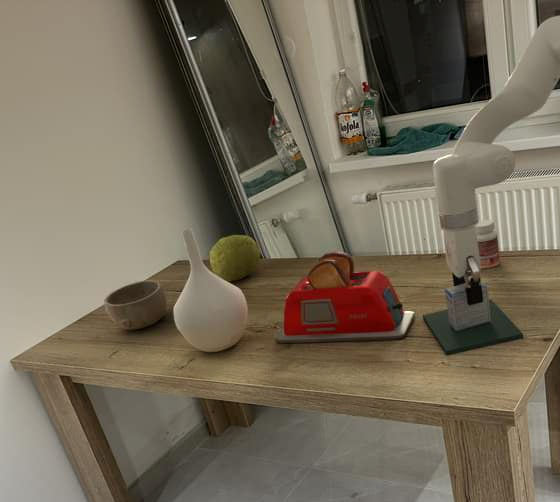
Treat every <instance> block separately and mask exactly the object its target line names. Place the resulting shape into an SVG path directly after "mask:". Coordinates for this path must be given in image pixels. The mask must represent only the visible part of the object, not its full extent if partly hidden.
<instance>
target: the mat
mask: <svg viewBox="0 0 560 502" xmlns="http://www.w3.org/2000/svg"><path fill="white" fill-rule="evenodd" d="M489 309H490V319H491V321H490V322H487V323H483V324H480V325H476V326H473V327H469V328H466V329H462V330H459V331H456V330H455V329H454V328H453V327H452V326H451V325H450V324H449V318H448V310H447V309H443V310H439V311H435V312H430V313H426V314H422V319H423V321H424V323H425V324H426V326H427V327H428V329H429V331H430V332H431V333H432V335H433V337H434V338H435V340H436V341H437V343H438V344H439V346H440V348H441V349H442V350H443V353H444V354H445V355H446V356H449V355H453V354H457V353H463V352H466V351H471V350H476V349H480V348H484V347H488V346H494V345H497V344H502V343H506V342H511V341H514V340H519V339H523V338H524V333H523V332H522V330H520V329H519V327H517V325H515V323H514V322H513V321H512V320H511V319H510V318H509V317H508V316H507V315H506V314H505V313H504V312H503V310H502V309H500V307H499V306H498V305H497V304H496V303H495V302H494V300H492V299H489Z"/></svg>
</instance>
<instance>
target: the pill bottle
mask: <svg viewBox="0 0 560 502" xmlns="http://www.w3.org/2000/svg"><path fill="white" fill-rule="evenodd" d="M495 228H496V227H495V221H494V220H492V219H481V220H478V224H477V225H476V226H475V231H476V235H477V242H478V248H479V255H480V264H481V269H490V268H494V267H496V266H498V265H499V264H500V261H501V260H500V250H499V238H498V232H497V231H496V230H495Z"/></svg>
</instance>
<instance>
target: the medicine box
mask: <svg viewBox="0 0 560 502" xmlns="http://www.w3.org/2000/svg"><path fill="white" fill-rule="evenodd" d="M481 284H482V293H483V302H482V303H478V304H474V305H468V304H467V297H466V289H465V287H467V285H466V283H465V284H461V285H458V286H454V285H453V286H451V287H448V288H445V289H444V293H445V303H446V308H447V309H446V310H448V318H449V324H450V325H451V326H452V327H453V328H454V329H455V330H456V331H459V330H462V329H466V328H469V327H473V326H476V325H480V324H483V323H487V322H490V321H491V319H490V309H489V300H490V299H489V287H488V285H486V283H484V282H483V281H481Z"/></svg>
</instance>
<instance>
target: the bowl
mask: <svg viewBox="0 0 560 502" xmlns="http://www.w3.org/2000/svg"><path fill="white" fill-rule="evenodd" d="M103 305H104V308H105V311H106V312H107V315H108V316H109V317H110V319H111V321H112V322H113V323H114V324H115V325H116V326H118V328H121V329H123V330H127V331H132V330H139V329H144V328H147V327H150V326H152V325H154V324H155V323H157V322H158V321H159V320H161V318H162V317H163V316H164V315H165V313H166V312H167V297H166V292H165V290H164V288H163V286H162V284H161V283H160V282H159V281H156V280H140V281H136V282H133V283H129V284H126V285H124V286H121V287H119V288H117V289H115V290H113V291H112V292H110V293H109V294H108V295H106V296H105V298H104V299H103Z"/></svg>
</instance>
